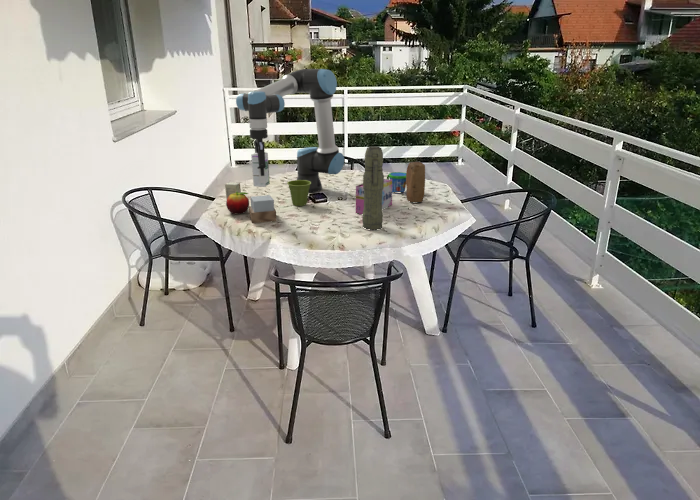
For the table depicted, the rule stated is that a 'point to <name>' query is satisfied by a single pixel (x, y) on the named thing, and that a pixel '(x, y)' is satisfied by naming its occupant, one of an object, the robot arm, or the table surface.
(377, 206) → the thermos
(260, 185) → the syrup box
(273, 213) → the base block
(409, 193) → the block
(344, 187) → the table surface
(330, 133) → the robot arm
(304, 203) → the plant pot
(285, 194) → the table surface
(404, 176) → the snack cup
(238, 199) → the fruit
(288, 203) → the table surface
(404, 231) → the table surface
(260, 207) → the top block
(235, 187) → the skincare box
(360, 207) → the gum box
